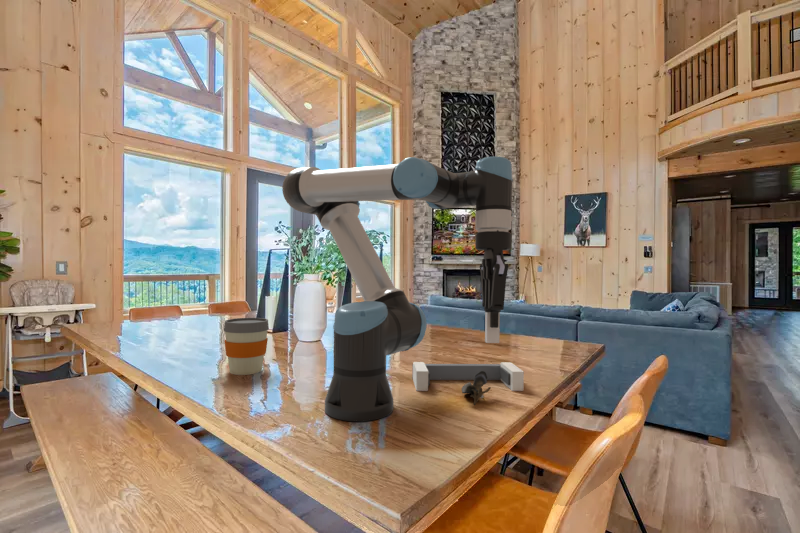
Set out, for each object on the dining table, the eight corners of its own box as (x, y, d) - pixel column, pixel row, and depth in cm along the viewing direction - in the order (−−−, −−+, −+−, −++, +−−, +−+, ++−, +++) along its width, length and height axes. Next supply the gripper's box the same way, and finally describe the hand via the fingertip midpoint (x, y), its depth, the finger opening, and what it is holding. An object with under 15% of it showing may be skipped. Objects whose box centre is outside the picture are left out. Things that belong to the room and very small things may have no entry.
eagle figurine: (499, 401, 92) (494, 383, 101) (483, 376, 91) (479, 360, 100) (471, 416, 94) (467, 397, 102) (455, 392, 93) (453, 375, 102)
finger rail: (416, 390, 103) (416, 371, 103) (412, 377, 115) (412, 360, 115) (523, 390, 104) (523, 371, 104) (508, 377, 116) (508, 360, 116)
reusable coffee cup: (237, 364, 126) (238, 317, 126) (275, 366, 124) (276, 318, 124) (213, 375, 114) (214, 322, 114) (255, 377, 112) (256, 324, 112)
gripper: (521, 229, 79) (520, 348, 79) (501, 234, 92) (500, 337, 92) (484, 228, 79) (482, 348, 79) (469, 233, 92) (467, 337, 92)
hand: (492, 342), depth 85 cm, fingers closed
